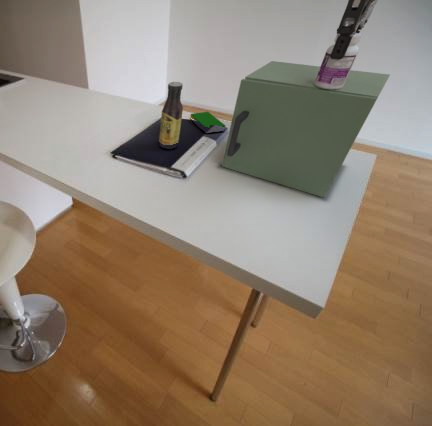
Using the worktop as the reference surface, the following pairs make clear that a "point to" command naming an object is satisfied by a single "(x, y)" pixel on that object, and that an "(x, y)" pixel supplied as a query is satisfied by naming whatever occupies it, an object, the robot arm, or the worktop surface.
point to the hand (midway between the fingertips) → (340, 54)
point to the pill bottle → (337, 66)
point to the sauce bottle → (171, 115)
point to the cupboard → (307, 75)
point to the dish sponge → (206, 119)
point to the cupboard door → (293, 133)
